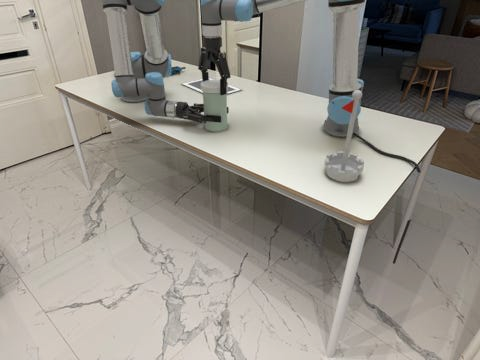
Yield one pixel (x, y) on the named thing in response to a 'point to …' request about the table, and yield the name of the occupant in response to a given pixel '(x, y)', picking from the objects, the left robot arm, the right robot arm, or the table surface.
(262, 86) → the table surface
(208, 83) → the lid
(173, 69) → the submachine gun
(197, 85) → the tablet
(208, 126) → the jar
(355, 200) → the table surface
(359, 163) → the flag stand
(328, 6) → the right robot arm
